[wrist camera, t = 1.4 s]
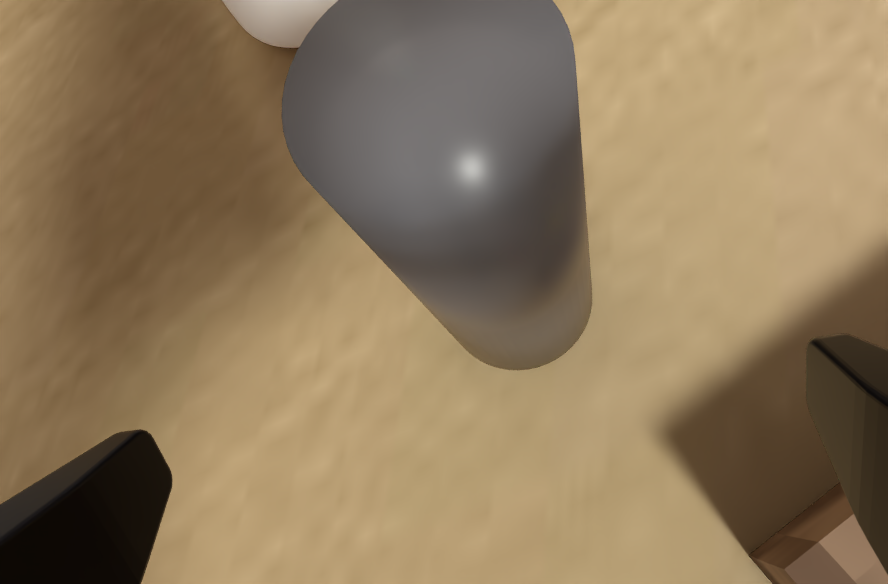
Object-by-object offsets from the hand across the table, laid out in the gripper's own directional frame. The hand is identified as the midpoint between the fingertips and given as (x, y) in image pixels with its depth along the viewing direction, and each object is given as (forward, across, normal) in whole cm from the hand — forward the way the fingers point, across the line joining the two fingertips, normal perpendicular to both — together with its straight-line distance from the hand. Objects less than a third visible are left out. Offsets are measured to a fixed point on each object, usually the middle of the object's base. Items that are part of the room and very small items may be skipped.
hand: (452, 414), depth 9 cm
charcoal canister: (+13, 0, +5) cm, 14 cm away
